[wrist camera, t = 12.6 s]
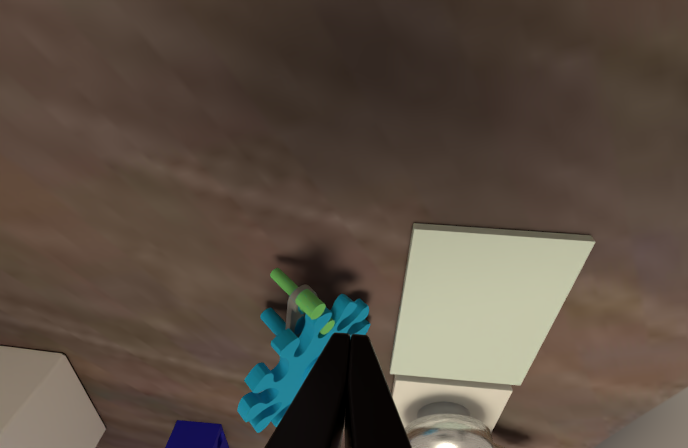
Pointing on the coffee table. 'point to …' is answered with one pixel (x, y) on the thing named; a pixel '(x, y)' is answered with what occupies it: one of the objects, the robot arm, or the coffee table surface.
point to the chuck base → (449, 398)
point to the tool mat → (481, 300)
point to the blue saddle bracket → (197, 435)
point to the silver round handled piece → (449, 432)
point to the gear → (296, 348)
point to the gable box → (44, 402)
